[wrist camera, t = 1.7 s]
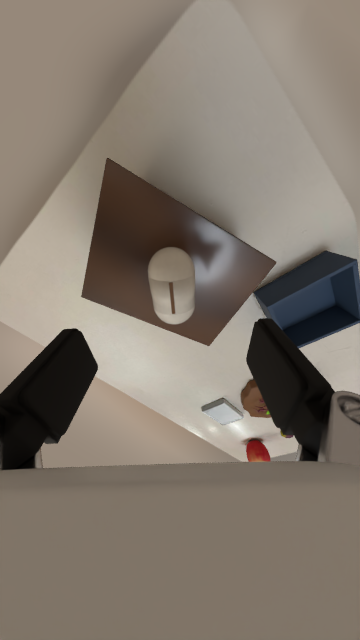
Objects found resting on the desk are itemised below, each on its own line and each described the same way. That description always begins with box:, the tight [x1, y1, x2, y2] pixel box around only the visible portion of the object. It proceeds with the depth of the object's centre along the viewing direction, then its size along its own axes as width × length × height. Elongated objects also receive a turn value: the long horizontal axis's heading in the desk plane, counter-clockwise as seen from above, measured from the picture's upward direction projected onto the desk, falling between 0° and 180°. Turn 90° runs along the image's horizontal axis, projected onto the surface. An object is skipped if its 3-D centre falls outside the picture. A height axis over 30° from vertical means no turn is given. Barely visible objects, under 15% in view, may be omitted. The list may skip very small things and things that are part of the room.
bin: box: [254, 251, 360, 348], centre depth 29 cm, size 12×12×6 cm
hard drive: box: [202, 399, 244, 425], centre depth 53 cm, size 2×8×12 cm
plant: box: [241, 380, 293, 438], centre depth 44 cm, size 20×20×11 cm
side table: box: [81, 158, 276, 346], centre depth 21 cm, size 12×16×12 cm
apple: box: [246, 440, 270, 462], centre depth 64 cm, size 8×8×10 cm
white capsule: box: [148, 247, 195, 325], centre depth 15 cm, size 7×4×4 cm, turn 3°
